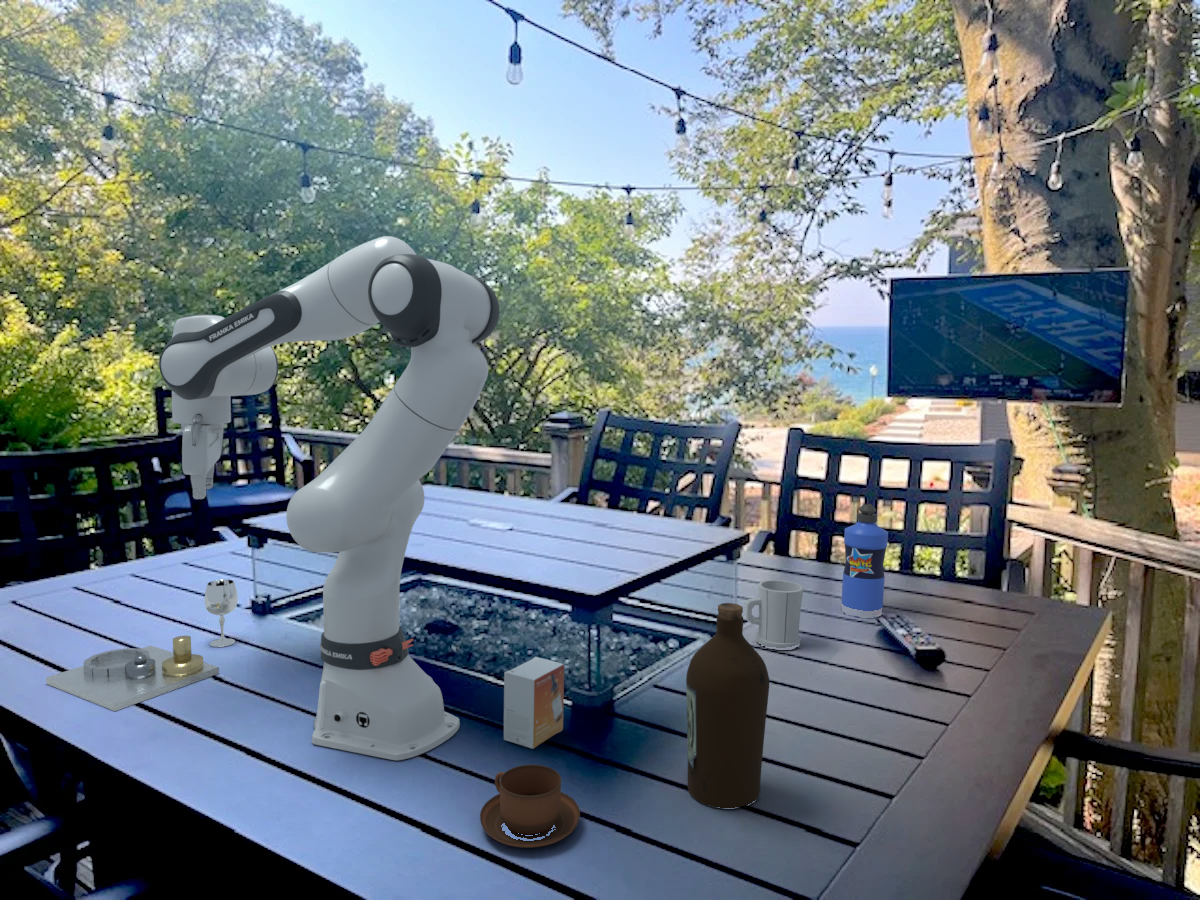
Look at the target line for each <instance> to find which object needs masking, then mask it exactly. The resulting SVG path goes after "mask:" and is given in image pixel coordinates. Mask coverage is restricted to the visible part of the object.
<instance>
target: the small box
mask: <svg viewBox="0 0 1200 900" xmlns="http://www.w3.org/2000/svg"><path fill="white" fill-rule="evenodd" d="M503 675H504V677H503V683H504V684H503V740H504V741H506V742H510V743H514V744H516V745H519V746H523V747H526V748H529V749H532V750H533V749H535V748H537V747H538V746H539V745H541V744H542V743H544V742H545V741H548V740H549V739H550V738H552V737H553V736H555V735H556V734H558V733H561V732H562V731H563V729H564V702H565V701H564V696H565V693H564V691H565V664H564V663H561V662H557V661H554V660H550V659H547V658H542V657H539V656H534V657H533V658H532V659H530V660H528V661H526V662H523V663H521V664H520V665H517V666H516V667H513V668H511V669H510V670H507V671H504V673H503Z"/></svg>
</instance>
